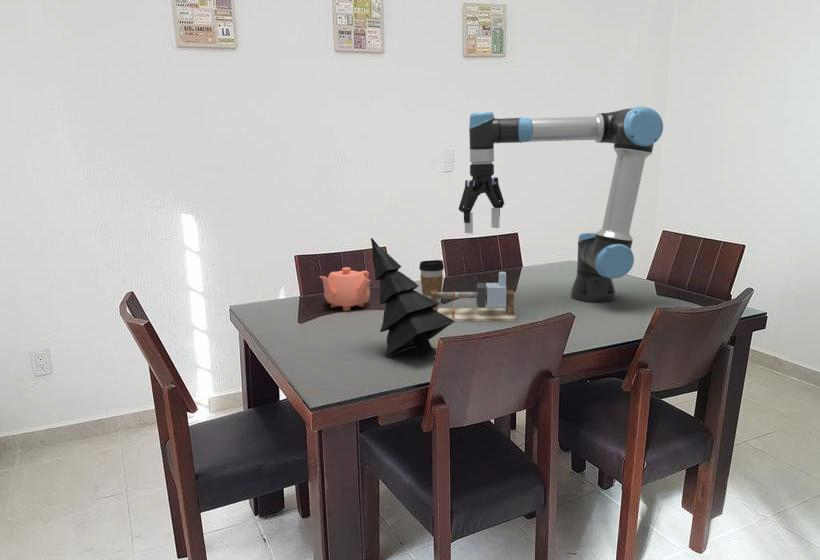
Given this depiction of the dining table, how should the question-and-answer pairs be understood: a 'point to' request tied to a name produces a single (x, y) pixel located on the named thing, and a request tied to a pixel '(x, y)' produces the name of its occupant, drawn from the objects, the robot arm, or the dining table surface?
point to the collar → (481, 295)
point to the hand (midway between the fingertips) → (482, 230)
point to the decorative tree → (405, 308)
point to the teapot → (347, 288)
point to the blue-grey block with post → (496, 292)
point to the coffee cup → (431, 277)
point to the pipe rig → (476, 313)
